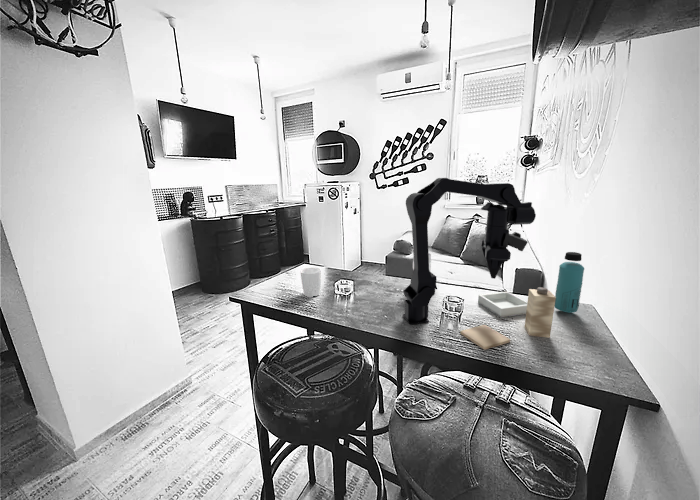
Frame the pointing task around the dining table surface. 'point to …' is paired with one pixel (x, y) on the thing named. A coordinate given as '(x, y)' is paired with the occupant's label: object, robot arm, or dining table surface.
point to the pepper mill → (539, 312)
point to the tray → (503, 304)
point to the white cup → (311, 281)
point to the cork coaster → (485, 337)
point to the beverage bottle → (569, 284)
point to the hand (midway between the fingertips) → (491, 273)
